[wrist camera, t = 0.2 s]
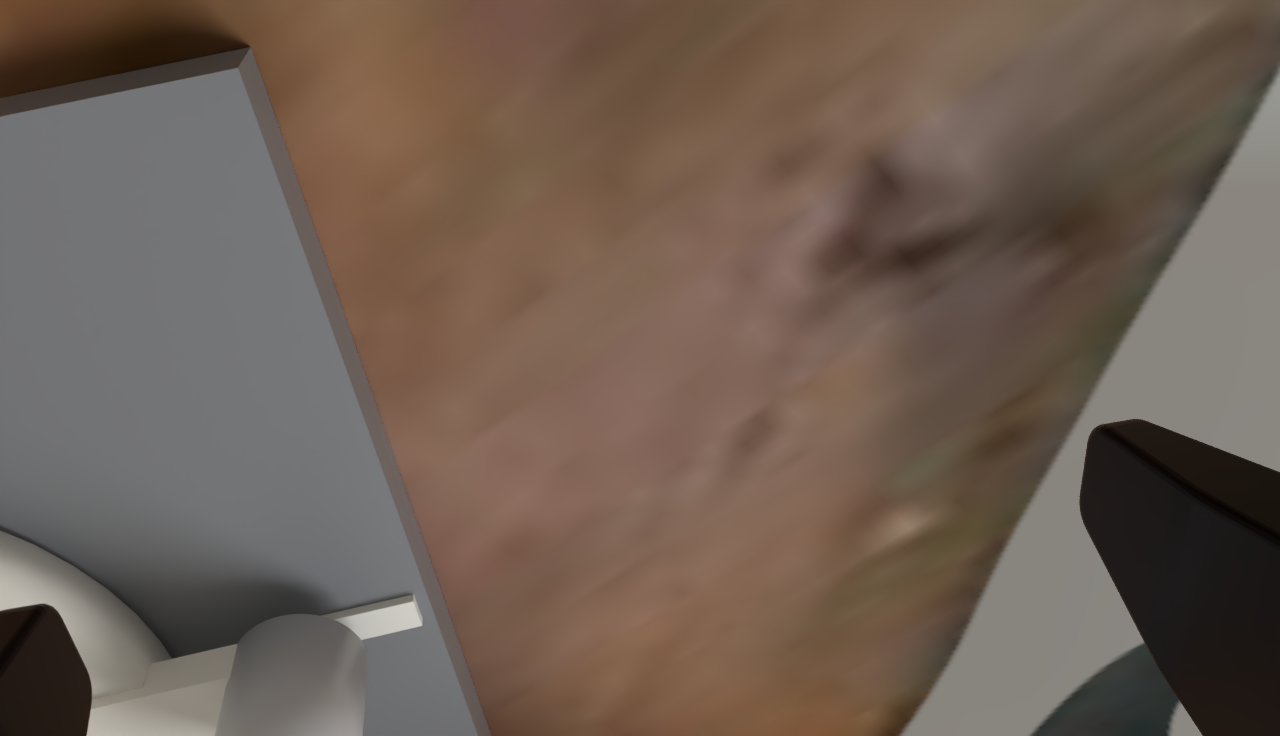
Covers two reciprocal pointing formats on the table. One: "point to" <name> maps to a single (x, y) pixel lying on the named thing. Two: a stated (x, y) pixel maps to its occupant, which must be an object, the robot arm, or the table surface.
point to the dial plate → (202, 385)
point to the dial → (195, 663)
